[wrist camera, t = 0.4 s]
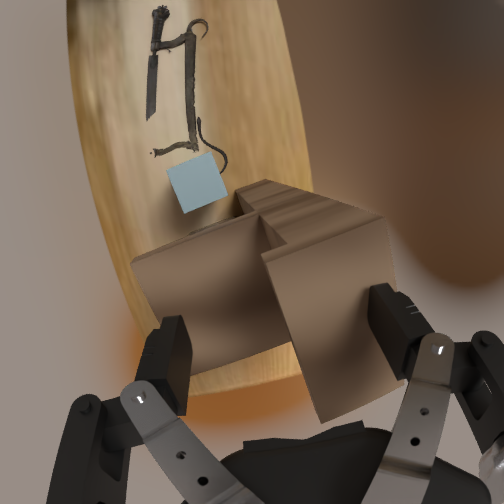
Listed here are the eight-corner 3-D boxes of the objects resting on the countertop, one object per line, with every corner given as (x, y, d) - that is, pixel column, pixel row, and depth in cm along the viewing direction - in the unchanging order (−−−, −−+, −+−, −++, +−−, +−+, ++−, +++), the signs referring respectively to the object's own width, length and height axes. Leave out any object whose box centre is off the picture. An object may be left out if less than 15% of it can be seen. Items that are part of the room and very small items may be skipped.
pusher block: (175, 168, 36) (166, 170, 24) (206, 155, 36) (210, 151, 24) (188, 198, 37) (184, 213, 25) (218, 186, 37) (228, 195, 26)
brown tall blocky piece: (165, 217, 37) (85, 329, 11) (265, 179, 38) (384, 216, 12) (195, 287, 40) (187, 463, 14) (289, 251, 41) (404, 384, 15)
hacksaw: (154, 8, 29) (152, 4, 28) (231, 6, 31) (232, 1, 29) (145, 179, 36) (142, 180, 35) (227, 177, 37) (228, 177, 36)
